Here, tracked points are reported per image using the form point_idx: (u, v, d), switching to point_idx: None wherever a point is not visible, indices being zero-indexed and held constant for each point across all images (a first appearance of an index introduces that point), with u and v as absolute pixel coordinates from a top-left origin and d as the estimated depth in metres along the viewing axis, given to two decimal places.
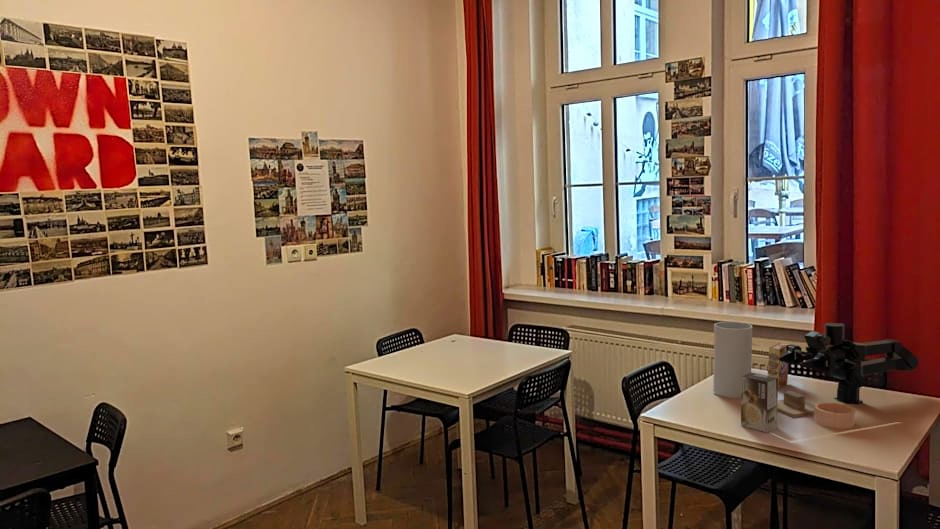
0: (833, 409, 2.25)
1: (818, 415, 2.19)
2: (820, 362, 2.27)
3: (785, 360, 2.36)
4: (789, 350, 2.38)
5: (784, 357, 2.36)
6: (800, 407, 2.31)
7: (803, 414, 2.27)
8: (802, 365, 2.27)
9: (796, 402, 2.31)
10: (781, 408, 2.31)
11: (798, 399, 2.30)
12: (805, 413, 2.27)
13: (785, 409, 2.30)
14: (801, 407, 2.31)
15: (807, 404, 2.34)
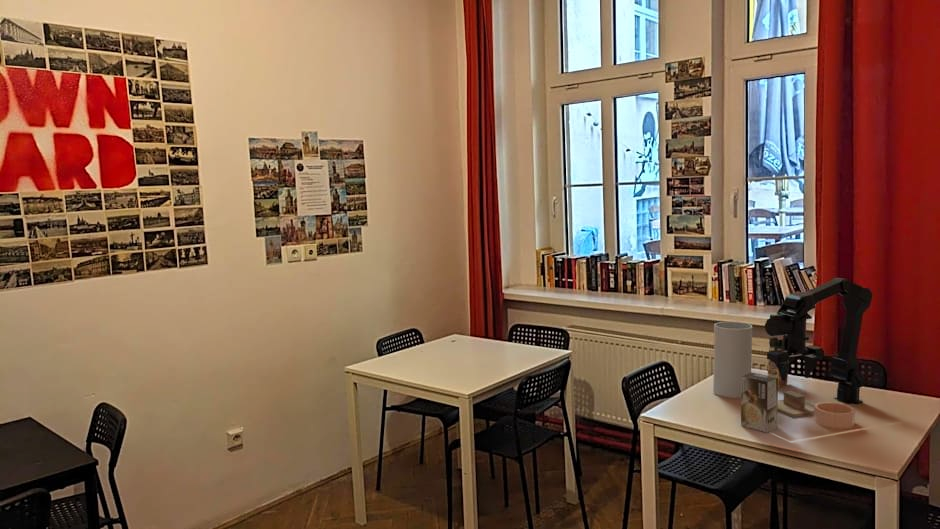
0: (833, 409, 2.25)
1: (818, 415, 2.19)
2: None
3: (808, 371, 2.33)
4: None
5: (805, 371, 2.34)
6: (800, 407, 2.31)
7: (803, 414, 2.27)
8: (783, 379, 2.31)
9: (796, 402, 2.31)
10: (781, 408, 2.31)
11: (798, 399, 2.30)
12: (805, 413, 2.27)
13: (785, 409, 2.30)
14: (801, 407, 2.31)
15: (807, 404, 2.34)
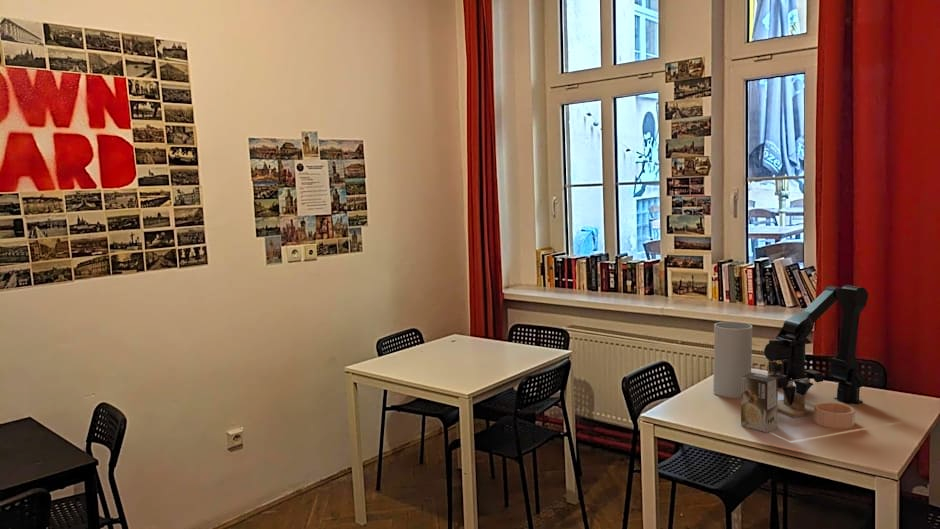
0: (833, 409, 2.25)
1: (818, 415, 2.19)
2: None
3: None
4: None
5: None
6: (800, 407, 2.31)
7: (803, 414, 2.27)
8: (789, 403, 2.33)
9: (796, 402, 2.31)
10: (781, 408, 2.31)
11: (798, 399, 2.30)
12: (805, 413, 2.27)
13: (785, 409, 2.30)
14: (801, 407, 2.31)
15: (807, 404, 2.34)
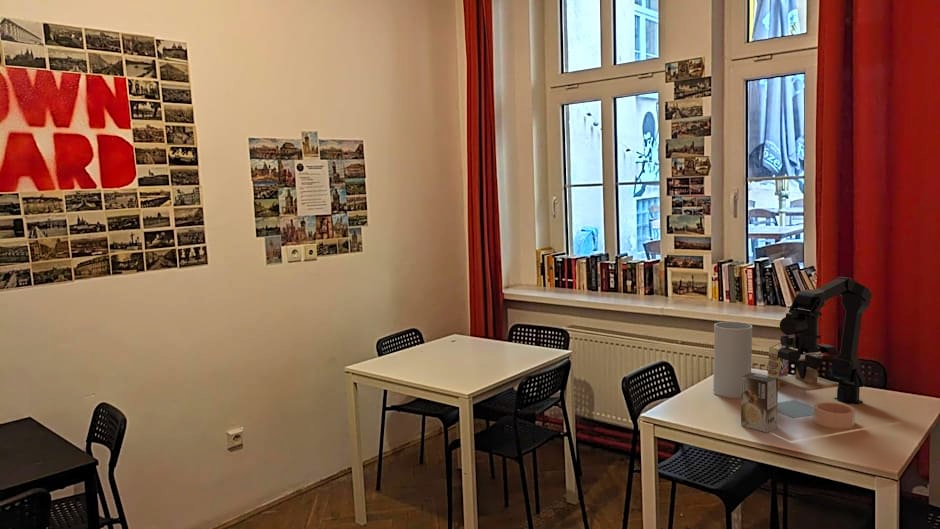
0: (833, 409, 2.25)
1: (818, 415, 2.19)
2: None
3: None
4: None
5: None
6: (812, 381, 2.26)
7: (815, 388, 2.22)
8: (801, 377, 2.28)
9: (808, 376, 2.26)
10: (793, 382, 2.26)
11: (810, 373, 2.25)
12: (817, 387, 2.22)
13: (797, 383, 2.25)
14: (814, 382, 2.26)
15: (820, 379, 2.29)
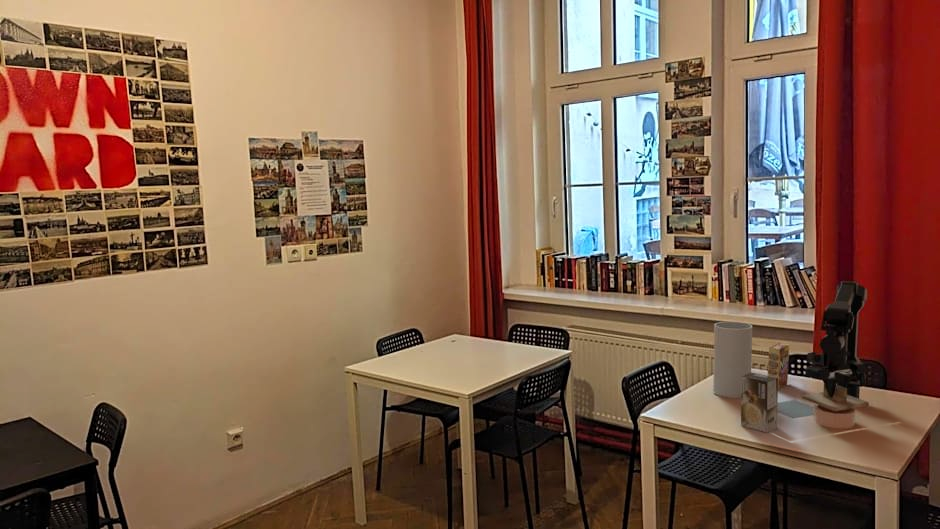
0: None
1: (818, 415, 2.19)
2: None
3: None
4: None
5: None
6: (842, 400, 2.17)
7: (846, 407, 2.13)
8: (830, 395, 2.19)
9: (837, 394, 2.17)
10: (821, 401, 2.18)
11: (839, 392, 2.16)
12: (848, 406, 2.13)
13: (826, 402, 2.17)
14: (843, 400, 2.17)
15: (849, 397, 2.21)
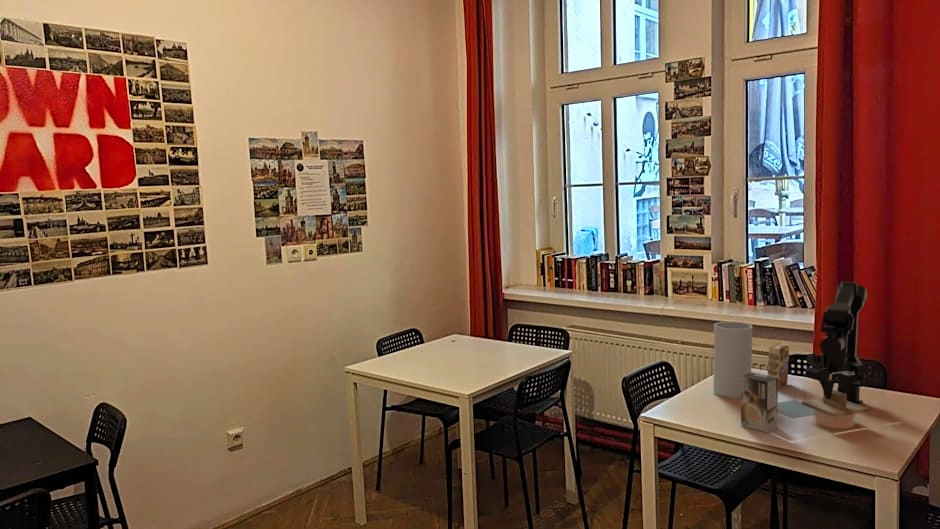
0: None
1: (818, 415, 2.19)
2: None
3: (843, 389, 2.20)
4: None
5: (840, 390, 2.21)
6: (841, 406, 2.17)
7: (845, 414, 2.13)
8: (827, 397, 2.19)
9: (837, 401, 2.17)
10: (821, 407, 2.18)
11: (839, 398, 2.17)
12: (847, 412, 2.14)
13: (826, 408, 2.17)
14: (843, 406, 2.17)
15: (849, 403, 2.21)
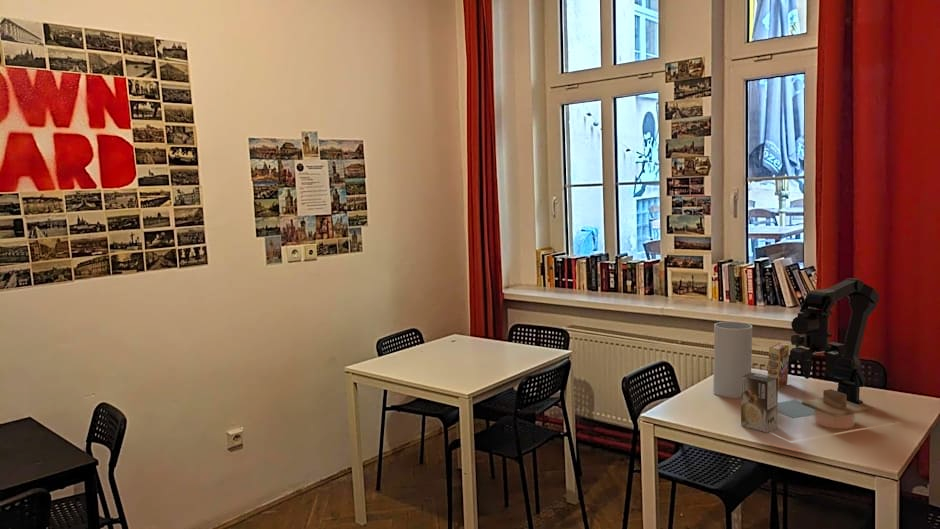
0: None
1: (818, 415, 2.19)
2: None
3: (830, 367, 2.31)
4: None
5: (827, 368, 2.32)
6: (841, 406, 2.17)
7: (845, 414, 2.13)
8: (806, 377, 2.29)
9: (837, 401, 2.17)
10: (821, 407, 2.18)
11: (839, 398, 2.17)
12: (847, 412, 2.14)
13: (826, 408, 2.17)
14: (843, 406, 2.17)
15: (849, 403, 2.21)
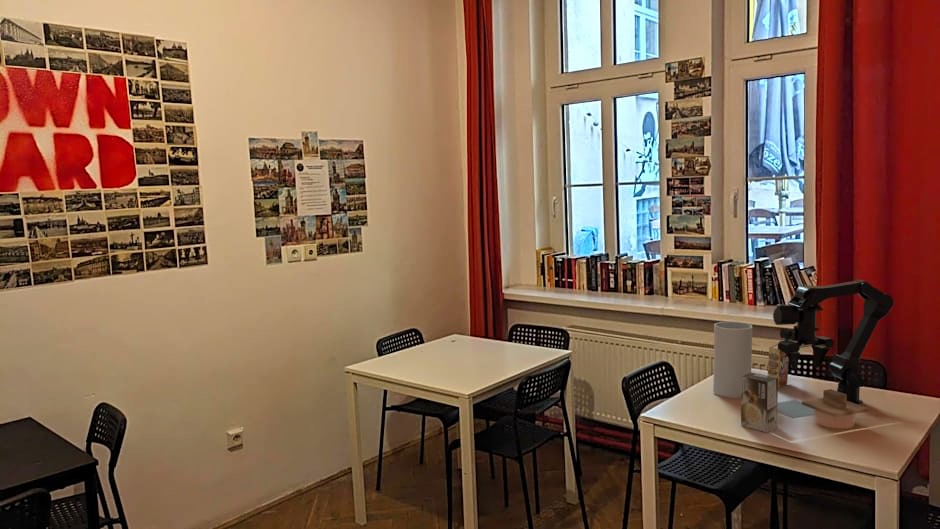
0: None
1: (818, 415, 2.19)
2: None
3: (817, 361, 2.39)
4: None
5: (815, 361, 2.40)
6: (841, 406, 2.17)
7: (845, 414, 2.13)
8: (793, 369, 2.37)
9: (837, 401, 2.17)
10: (821, 407, 2.18)
11: (839, 398, 2.17)
12: (847, 412, 2.14)
13: (826, 408, 2.17)
14: (843, 406, 2.17)
15: (849, 403, 2.21)
